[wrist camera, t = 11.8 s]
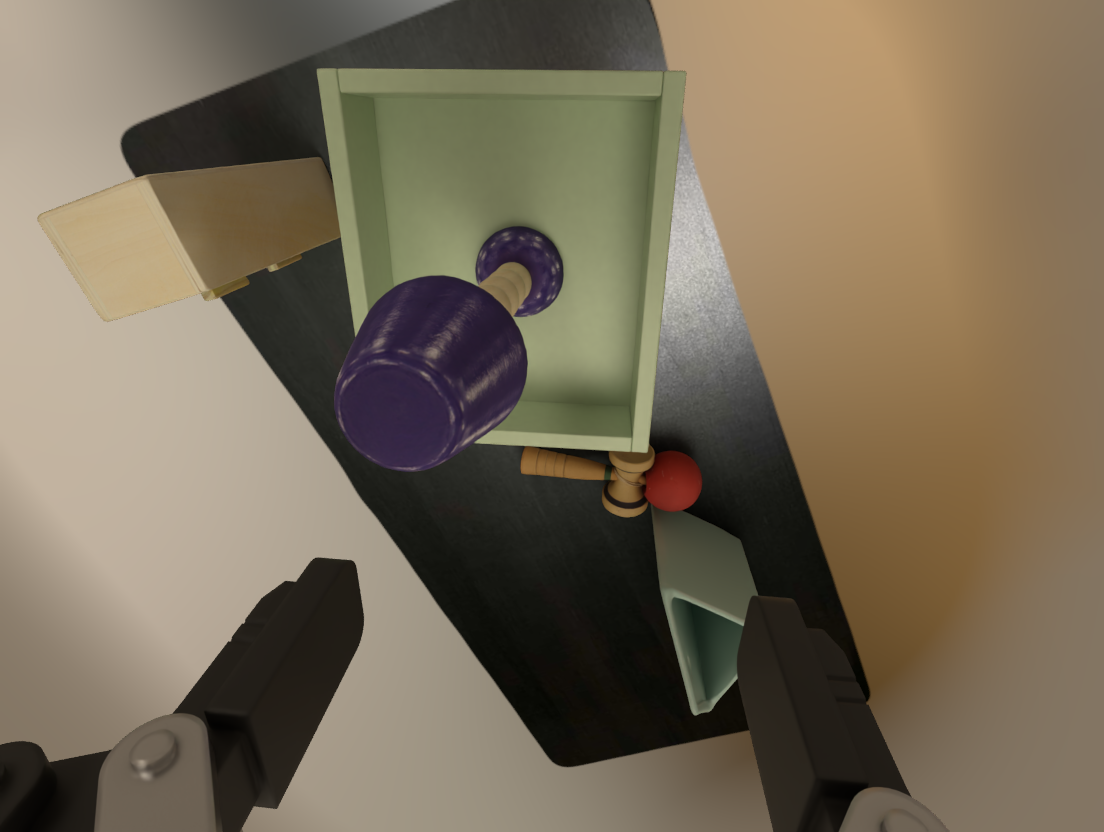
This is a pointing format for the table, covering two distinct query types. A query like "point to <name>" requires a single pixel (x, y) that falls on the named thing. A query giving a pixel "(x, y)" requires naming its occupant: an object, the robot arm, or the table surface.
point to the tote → (521, 218)
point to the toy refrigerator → (191, 232)
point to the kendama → (626, 477)
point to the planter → (702, 601)
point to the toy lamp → (445, 355)
